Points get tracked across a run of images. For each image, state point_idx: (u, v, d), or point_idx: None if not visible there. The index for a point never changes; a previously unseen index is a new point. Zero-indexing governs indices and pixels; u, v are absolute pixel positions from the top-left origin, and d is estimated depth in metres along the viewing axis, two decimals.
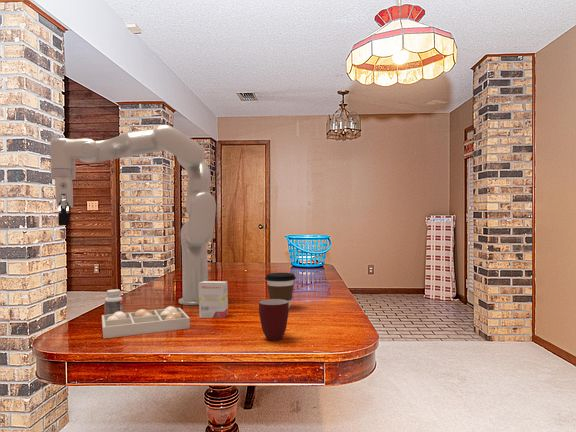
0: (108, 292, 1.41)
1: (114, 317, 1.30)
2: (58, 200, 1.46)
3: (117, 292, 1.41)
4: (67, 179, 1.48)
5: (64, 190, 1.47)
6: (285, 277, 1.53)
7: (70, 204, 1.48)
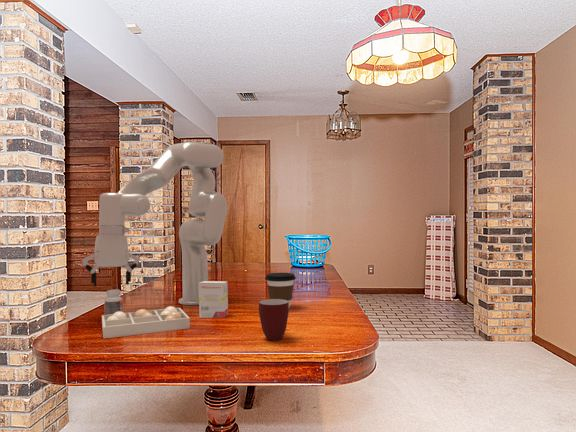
0: (108, 292, 1.41)
1: (114, 317, 1.30)
2: (128, 258, 1.43)
3: (117, 292, 1.41)
4: None
5: None
6: (285, 277, 1.53)
7: None
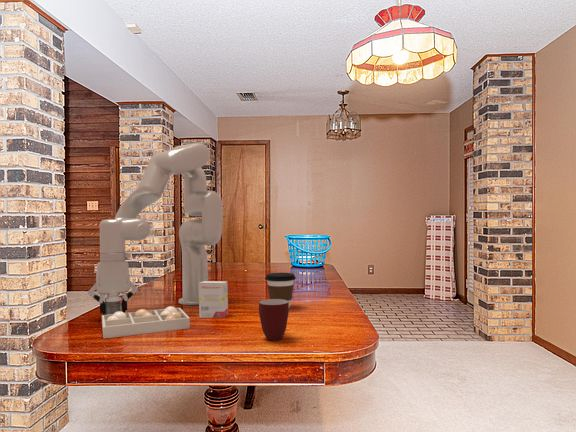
0: None
1: (114, 317, 1.30)
2: (129, 284, 1.43)
3: None
4: None
5: None
6: (285, 277, 1.53)
7: None
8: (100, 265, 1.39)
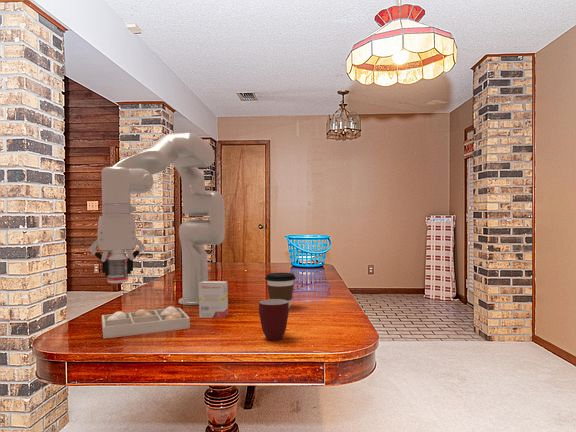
0: None
1: (114, 317, 1.30)
2: (135, 241, 1.26)
3: None
4: None
5: None
6: (285, 277, 1.53)
7: None
8: (102, 218, 1.22)
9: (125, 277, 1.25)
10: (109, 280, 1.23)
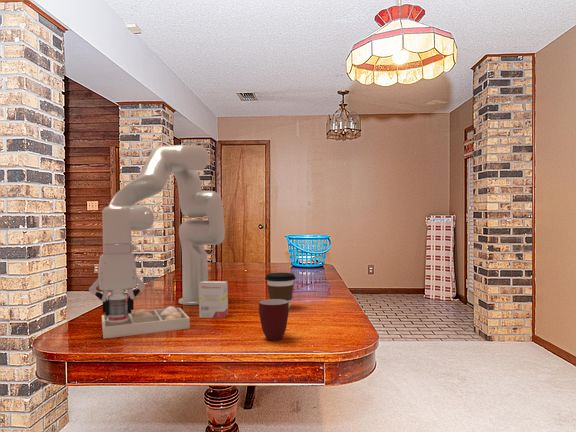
0: None
1: None
2: (136, 280, 1.26)
3: None
4: None
5: None
6: (285, 277, 1.53)
7: None
8: (103, 258, 1.22)
9: (125, 316, 1.25)
10: (109, 320, 1.23)
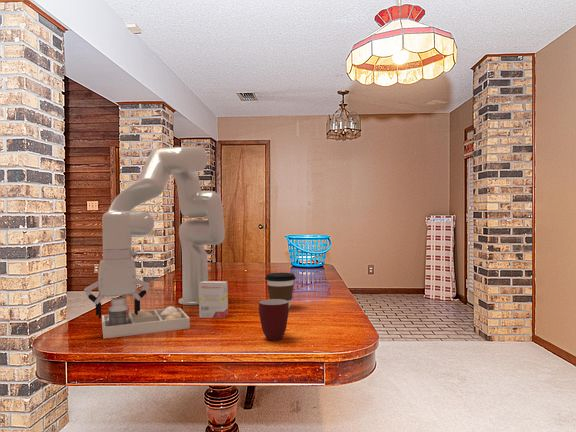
0: (112, 300, 1.24)
1: None
2: (136, 285, 1.26)
3: (123, 300, 1.25)
4: None
5: None
6: (285, 277, 1.53)
7: None
8: (103, 263, 1.22)
9: None
10: None
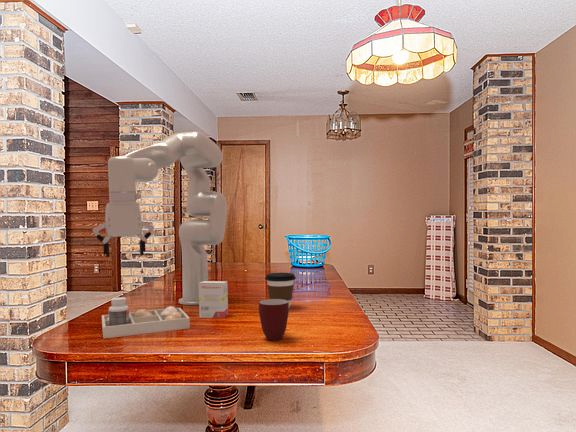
0: (113, 300, 1.24)
1: None
2: (141, 227, 1.33)
3: (123, 300, 1.25)
4: None
5: None
6: (285, 277, 1.53)
7: None
8: (110, 205, 1.29)
9: None
10: None
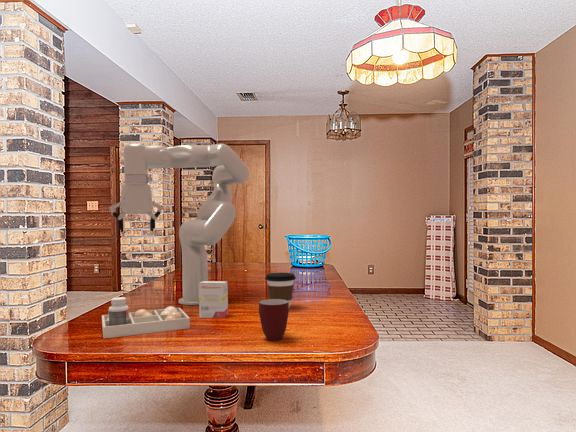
0: (113, 300, 1.24)
1: None
2: (152, 206, 1.51)
3: (123, 300, 1.25)
4: None
5: None
6: (285, 277, 1.53)
7: None
8: (125, 186, 1.47)
9: None
10: None
